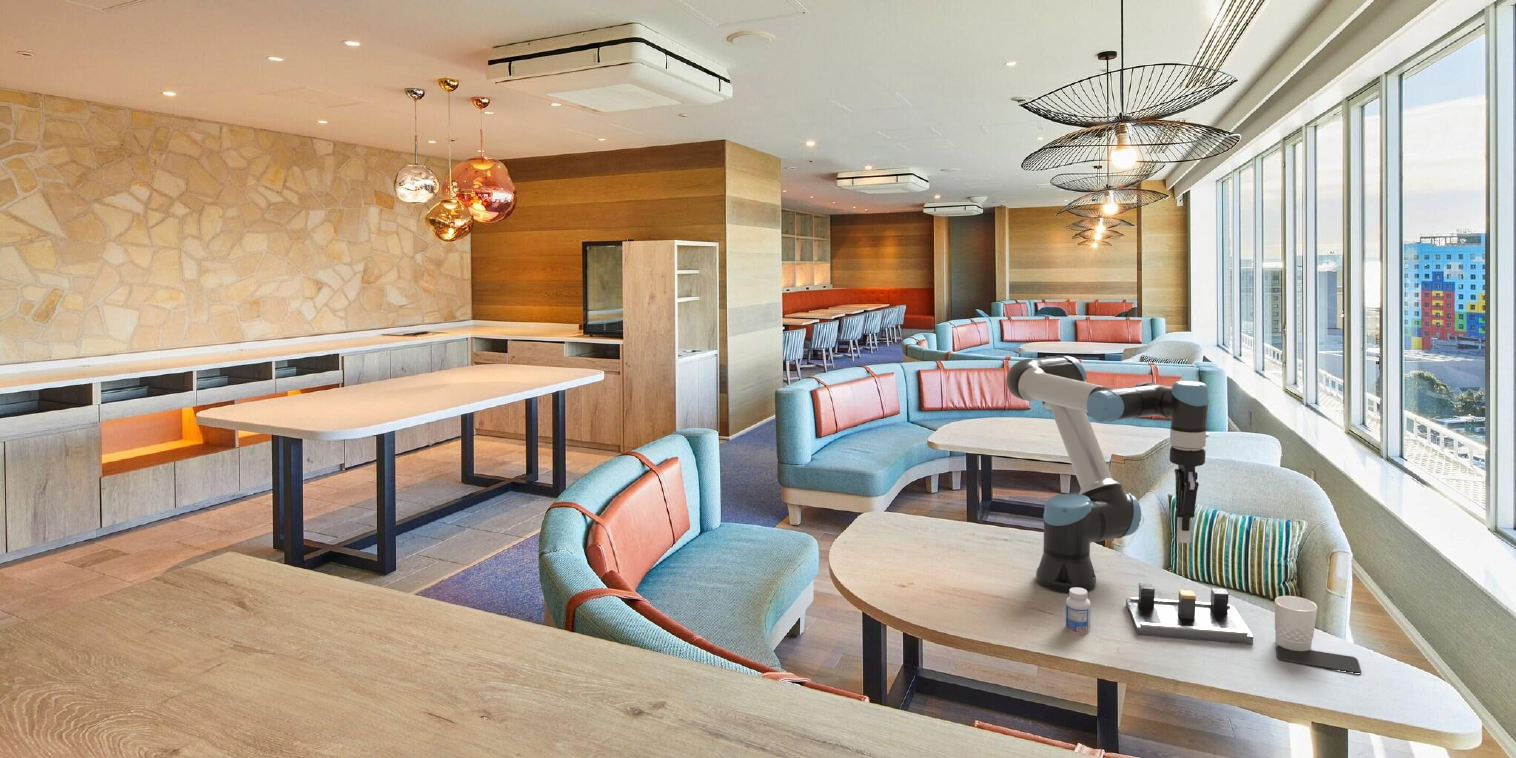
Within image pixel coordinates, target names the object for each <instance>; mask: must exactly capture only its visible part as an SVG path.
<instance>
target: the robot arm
mask: <svg viewBox="0 0 1516 758" xmlns="http://www.w3.org/2000/svg"><path fill="white" fill-rule="evenodd" d="M1086 372H1087V371H1086V369H1085V367H1084V365H1082V363H1081V362H1080V361H1079V360H1078V359H1077V358H1075V357H1073V356H1070V355H1054V356H1048V357H1045V356H1044V357H1034V358H1026V359H1025V358H1024V359H1021V360H1019V361H1017V362H1016V363H1014V364H1013V365H1012V366H1011V367H1010V368H1009V370H1008V372H1007V375H1006V380H1005V381H1006V387H1007V389H1008V390H1009V392H1010V394H1011V395H1013V396H1014V397H1015V398H1017V399H1021V400H1024V401H1027V402H1037V401H1040V402H1042V405H1043V407H1044V409H1046V410H1049V411H1051V413H1052V415H1053V419H1054V421H1055V424H1056V427H1057V429H1058V432H1059V434H1060V437H1061V439H1062V442H1063V445H1064V448H1065V450H1066V452H1067V455H1068V459H1069V460H1070V463H1071V467H1072V468H1073V471H1074V474H1075V476H1076V478H1077V481H1078V484H1079V487H1080V491H1079V493H1075V492H1074V493H1073V492H1072V493H1059V494H1056V495H1053V496H1051V497H1049V498H1048V499H1047V500H1046V502H1045V503H1044V509H1043V510H1044V511H1043V515H1042V517H1043V547H1042V549H1043V551H1042V556H1041V558H1040V562H1039V565H1038V567H1037V568H1036V572H1035V580H1037V581H1036V583H1037V584H1038V583H1039V584H1038V585H1040V586H1041V587H1042V588H1045V589H1048V590H1050V591H1052V592H1057V593H1064V594H1069V590H1070V589H1071V588H1074V587H1079V588H1083V589H1085V590H1087V593H1088V592H1091V591H1093V590H1095V589H1096V586H1097V576H1096V574H1095V569H1094V567H1093V563H1092V560H1091V557H1090V553H1091V552H1090V551H1091V543H1096V542H1101V541H1102V542H1103V541H1108V540H1115V539H1121V538H1124V537H1128V536H1131V535H1133V534H1134V533H1135V532H1136V531H1137V530H1138V529H1139V527H1140V523H1141V521H1142V510H1141V509H1142V508H1141V505H1140V502H1139V501H1138V499H1137V497H1136V496H1135V495H1133V494H1132V493H1131V492H1128V491H1125V490H1124V488H1123V486H1122V484H1121V482H1118V481H1116V480H1114V479H1113V477H1112V474H1111V472H1110V469H1109V467H1108V464H1107V462H1106V459H1105V457H1104V455H1103V451H1102V449H1101V447H1100V445H1099V442H1098V440H1097V437H1096V434H1095V432H1094V429H1093V427H1092V424H1091V422H1090V419H1089V416H1090V417H1091V418H1092V419H1093V421H1096V422H1099V423H1100V422H1102V423H1103V422H1108V423H1110V422H1111V423H1112V422H1114V421H1121V420H1130V419H1136V418H1137V419H1138V418H1142V417H1143V418H1146V417H1152V416H1155V417H1161V418H1167V419H1170V432H1169V433H1170V435H1169V444H1170V445H1171V446H1170V447H1169V461H1170V463H1171V464H1174V465H1177V468H1176V467H1175V469H1174V474H1175V476H1174V477H1175V509H1176V512H1177V513H1176V514H1175V515H1176V517H1177V522H1176V525H1177V526H1176V542H1177V544H1178V543H1181V544H1191V538H1192V537H1191V535H1192V533H1191V532H1192V519H1193V518H1195V511H1196V503H1197V495H1198V489H1199V486H1200V484H1199V482H1198V481H1197V480H1198V477H1199V475H1198V472H1196V467H1198V466H1199V467H1200V466H1203V465H1204V464H1205V462H1206V449H1205V447H1206V446H1207V445H1206V443H1207V441H1206V440H1207V438H1209V433H1208V432H1207V427H1208V426H1207V424H1208V423H1207V422H1208V411H1209V400H1210V399H1209V387H1208V385H1207V384H1206V383H1204V382H1202V381H1193V380H1178V381H1175V382H1173V384H1172V386H1168V385H1162V384H1158V383H1155V382H1146V381H1145V382H1139V383H1137V384H1136V385H1134V386H1133V387H1123V388H1122V387H1121V388H1114V387H1108V386H1104V385H1099V384H1095V383H1091V382H1087V379H1088V376H1087V373H1086ZM1088 415H1089V416H1088Z"/></svg>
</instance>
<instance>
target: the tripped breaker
mask: <svg viewBox="0 0 1516 758" xmlns="http://www.w3.org/2000/svg"><path fill="white" fill-rule="evenodd" d="M1196 599H1197V596H1196V594H1195V592H1194V591H1193V590H1188V589H1187V590H1186V589H1179V590H1178V600H1179V601H1178V614H1179V616H1180V618H1184V619H1195V605H1196V602H1197V600H1196Z"/></svg>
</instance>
